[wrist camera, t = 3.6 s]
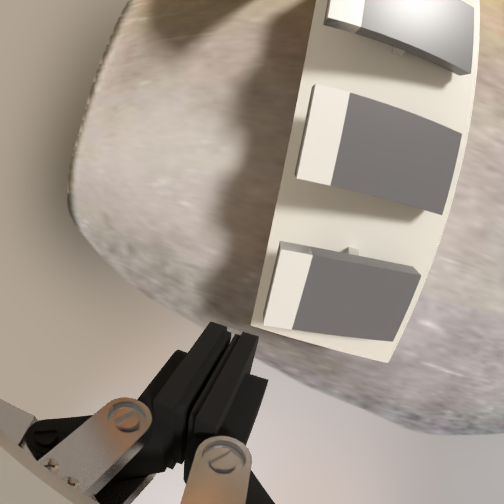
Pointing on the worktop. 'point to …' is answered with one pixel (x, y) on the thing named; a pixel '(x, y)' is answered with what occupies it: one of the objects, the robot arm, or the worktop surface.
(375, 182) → the switch
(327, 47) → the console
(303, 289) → the switch
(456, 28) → the switch
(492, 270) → the worktop surface
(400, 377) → the worktop surface
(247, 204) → the worktop surface
